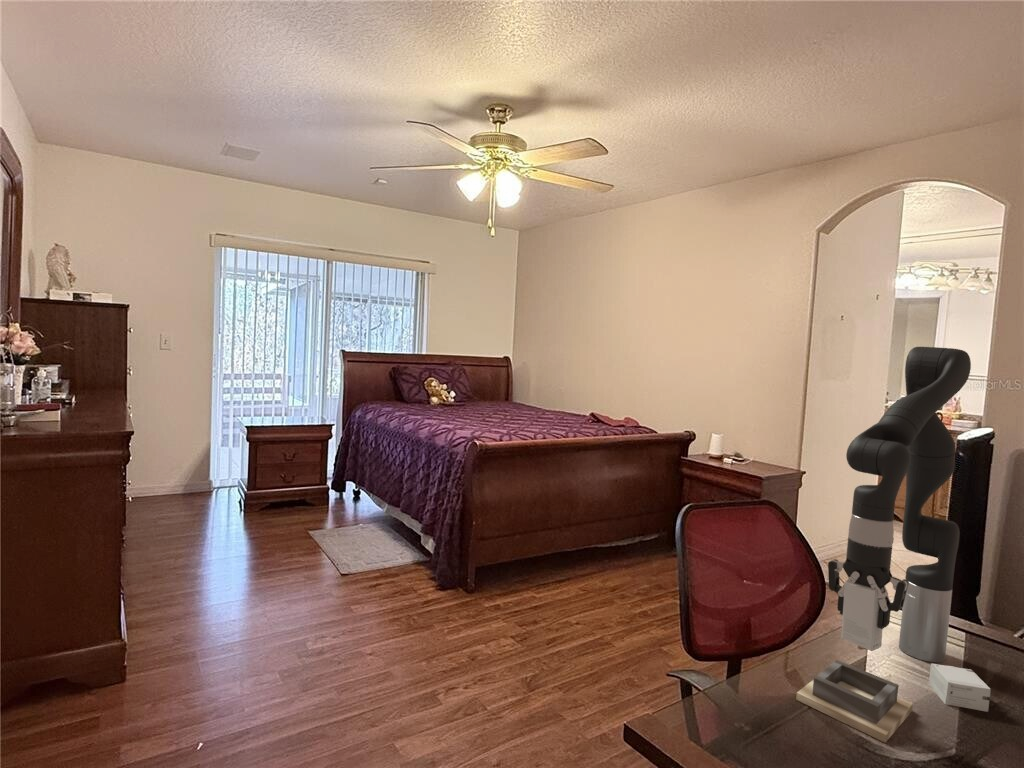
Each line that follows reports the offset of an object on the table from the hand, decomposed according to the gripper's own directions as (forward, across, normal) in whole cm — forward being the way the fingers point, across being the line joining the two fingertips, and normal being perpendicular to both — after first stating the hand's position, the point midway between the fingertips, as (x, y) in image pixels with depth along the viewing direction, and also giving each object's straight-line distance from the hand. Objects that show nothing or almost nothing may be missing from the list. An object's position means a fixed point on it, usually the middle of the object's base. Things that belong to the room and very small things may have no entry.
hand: (862, 620), depth 116 cm
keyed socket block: (+18, 0, 0) cm, 18 cm away
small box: (+18, +12, +22) cm, 31 cm away
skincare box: (+5, 0, 0) cm, 5 cm away
